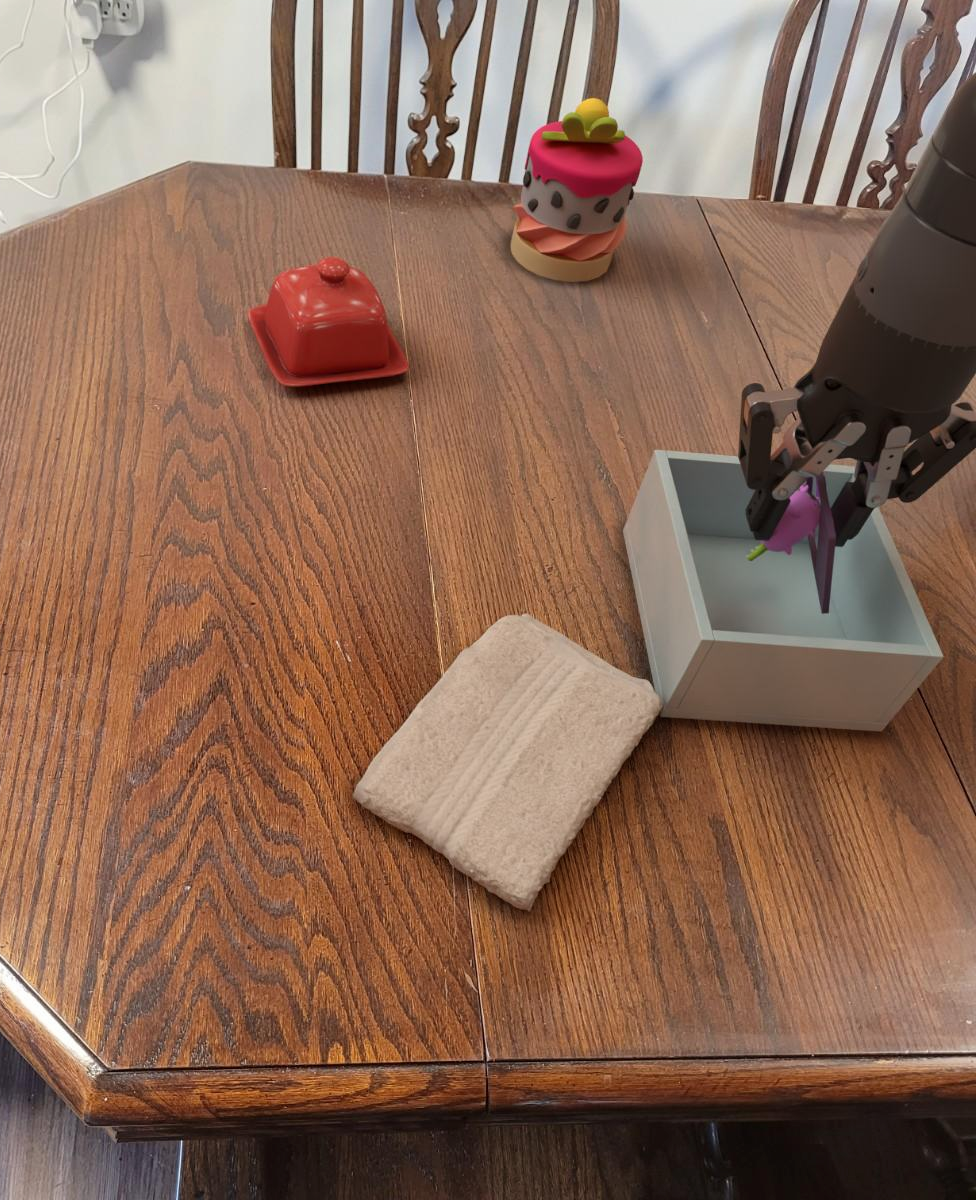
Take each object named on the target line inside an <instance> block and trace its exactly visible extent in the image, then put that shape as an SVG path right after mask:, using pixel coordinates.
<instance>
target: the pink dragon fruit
mask: <svg viewBox="0 0 976 1200" xmlns="http://www.w3.org/2000/svg"><path fill="white" fill-rule="evenodd" d="M812 487H813V477H809V478H808V479H807V480H806V487H804V485H803V484H802V485H801V486H800V491H796V492H795V493H794V494H793V495H792V496H791V497H790V500H791V502H790V504H789V506H788V507H787V509H786V511H785V513H784V515H783V516H782V518H781V520H780V522H779V524H778V525H777V527H776V529H775V531H774V533H773V534H772V536H771V538H770V540H769V541H761V544H760V546H758V547H755V548H756V550H751V551H752V553H751V554H750V555H748V556H747V557H748V560H749V561H753V560H754V559H755V558H757V557H758V556H760V555H761V554H763V553H764V552H765V551H767V550H771V551H774V552H781V551H786V552H787V554H788V555H791V553H792V546H794V545H795V544H796V543H798V542H799V541H800V540H802V539H803V538H804V537H806V536H808V541H809V547H810V552H811V558H812V563H813V569H814V574H815V580H816V585H817V591H818V596H819V602H820V608H821V613H822V614H828V613H829V604H830V594H831V584H832V574H833V564H834V554H835V543H836V534H835V529H834V524H833V519H832V514H831V510H830V505H829V500H828V495H827V485H826V480H825V476H824V471H823V472H822V473H821V474H820V475H819V476H818V477H816V497H815V496H814V495H813V494H812ZM818 491H819V498H818ZM819 501H821V507H820V504H819ZM818 525H819V532H818V544H817V547H816V542H815V532H814V531H815V529H816V527H817V526H818Z"/></svg>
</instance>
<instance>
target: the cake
mask: <svg viewBox="0 0 976 1200" xmlns="http://www.w3.org/2000/svg"><path fill="white" fill-rule="evenodd" d="M643 157H644V156H643V154H642V151H641V149H640V147H639V146H638V145H637V144H636V142H635V141H633V140H632V138H630V137H629V136H627V135H626V134H625V131H624V130H623V129H619V125H618V122H617V120H616V119H615V118H613V117H610V111H609V107H608V106H607V104H606V103H605V102H604V101H603V100H601V99H598V98H595V97H590V98H586V99H584V100H583V101H581V102H580V104H578V106H577V107H576V109H575V111H574V112H573V111H571V112H568V113H567V114H565V116H564V117H563V118H562V120H560V121H559V120H558V121H554V122H550V123H548V124H545V125H543V126H540V127H539V128H538V129H537V130H535V132H533V134H532V136H531V138H530V142H529V146H528V149H527V155H526V159H525V164H524V170H525V171H524V175H523V178H522V184H523V185H522V187H521V188H522V189H521V193H520V202H519V203H518V204H516V205H514V206H512V207H511V209H512V210H513V211H514V212H515V213H516V215H517V217H518V218H517V219H516V220H515V223H514V226H513V231H512V234H511V235H512V236H511V240H510V252H511V254H512V256H513V257H514V260H515V261H516V262H517V263H518V264H520V265H521V266H522V267H523V268H524V269H526V270H527V271H530V272H532V273H534V274H535V275H537V276H539V277H542V278H545V279H549V280H553V281H558V282H567V283H578V282H588V281H592V280H594V279H598V278H600V277H601V276H603V275H604V274H605V273H607V272H608V269H609V267H610V265H611V261H612V258H613V254H614V251H615V250H616V249H617V248H618V247H619V246H620V245H621V242H622V241H623V239H624V237H625V236H626V233H627V218H626V211H627V208H628V206H629V205H630V202H631V201H632V200H633V198H634V196H635V190H634V187H636V185H637V183H638V181H639V178H640V174H641V171H642V166H643V162H644V158H643Z"/></svg>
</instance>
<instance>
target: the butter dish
mask: <svg viewBox="0 0 976 1200" xmlns="http://www.w3.org/2000/svg"><path fill="white" fill-rule="evenodd" d="M272 282H273V283H272V285H271V287H270V288H271V289H270V291H269V296H268V298H267V299H268V300H267V303H265V304H261V305H257V306H253V307H251V308H250V309H249V310H248V312H247V317H248V321H249V324H250V326H251V328H252V330H253V332H254V336H255V337H256V340H257V342H258V345H259V347H260V350H261V352H262V354H263V356H264V358H265V361H266V363H267V366H268V368H269V370H270V372H271V374H272V375H273V377H274V379H275V380H276V381H277V383H278V384H280V385H281V386H283V387H289V388H290V387H291V388H293V387H294V388H297V387H298V388H299V387H310V386H315V385H317V386H318V385H323V384H324V385H325V384H332V383H342V382H343V383H344V382H350V381H359V380H360V381H361V380H362V381H363V380H369V379H370V380H371V379H379V378H389V377H394V376H399V375H402V374H405V373H407V372H409V370H410V364H409V361H408V359H407V357H406V355H405V353H404V351H403V349H402V347H401V345H400V344H399V342H398V340H397V338H396V337H395V335H394V333H393V331H392V330H391V328H390V326H389V325H388V321H387V320H388V319H387V313H386V310H385V306H384V304H383V300H382V298H381V296H380V294H379V293H378V291H377V289H376V287H375V285H374V284H373V282H372V281H371V279H369V277H368V275H366V274H365V273H364V272H363V271H361V270H360V269H359V268H357V267H354V266H351V265H350V266H349V264H348V262H346V261H345V259H342V258H341V257H337V256H327V257H324V258H322V259H320V260H319V261H318V262H317V264H313V265H312V264H311V265H304V266H299V267H296V268H295V267H294V268H290V269H288V270H285V271H282V272H281V273H280V274H278V275H277V276H276V277H275V279H274V280H273V281H272Z"/></svg>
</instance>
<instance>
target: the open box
mask: <svg viewBox="0 0 976 1200" xmlns="http://www.w3.org/2000/svg"><path fill="white" fill-rule="evenodd" d="M855 467H856V465H855V466H854V465H845V464H832V463H830V465H829V466H828V467H827V468H826V469H825V470H824V476H825V480H826V485H827V495H828V500H829V505H830V508H831V507H832V505H833V503H834V502H835V500H836V498H837V497H838V495H839V493H840V492H841V490H842V488H843V486H844V485H845V483H846V482H854V481H855V478H854V472H855ZM803 485H804V487H806V481H805V482H804V483H803ZM796 491H800V487H799V488H798V489H797V490H796ZM754 492H755V490H753V489H750V488H748V486H747V483H746V480H745V477H744V474H743V471H742V468H741V465H740V462H739V458H738V455H728V454H714V453H703V452H691V451H680V450H679V451H678V450H664V449H654V451H653V454H652V456H651V458H650V460H649V463H648V466H647V469H646V472H645V474H644V476H643V479H642V481H641V484H640V487H639V489H638V491H637V494H636V497H635V500H634V501H633V505H632V507H631V509H630V511H629V515H628V517H627V519H626V522H625V524H624V527H623V529H622V534H623V538H624V543H625V548H626V552H627V559H628V563H629V568H630V574H631V578H632V583H633V588H634V593H635V598H636V602H637V607H638V613H639V618H640V623H641V629H642V632H643V638H644V642H645V647H646V648H645V649H646V652H647V658H648V663H649V667H650V672H651V673H650V674H651V677H652V682H653V689H654V691H655V693H656V694H657V695H659V696H660V698H661V699H662V701H663V704H662V708H661V710H660V711H659V716H660V717H661V718H672V719H673V718H674V719H687V720H688V719H689V720H701V721H702V720H704V721H718V722H719V721H720V722H731V723H732V722H735V723H748V724H763V725H776V726H777V725H778V726H792V727H809V728H823V729H824V728H825V729H826V728H827V729H838V730H839V729H840V730H852V731H853V730H854V731H868V732H883V730H884V729H885V728H886V727H887V726H888V724H889V723H890V722H891V721H892V720H893V718H894V717H895V716H896V715H897V714H898V713H899V712H900V711H901V709H902V707H904V705H905V704H906V703H907V702H908V700H909V699H910V698H911V697H912V696H913V694H914V693H915V692H916V691H917V690H918V688H919V687H920V686H921V685H922V684H923V682H924V681H925V680H926V679H927V678H928V677H929V675H931V673H932V672H933V670H934V669H935V668H936V667H937V665H938V664H940V662H941V661H942V659H943V658H944V654H943V652H942V650H941V647H940V645H939V643H938V641H937V638H936V636H935V633H934V631H933V628H932V626H931V624H930V622H929V620H928V617H927V615H926V613H925V611H924V608H923V606H922V603H921V601H920V599H919V597H918V594H917V592H916V589H915V587H914V585H913V583H912V580H911V578H910V576H909V574H908V570H907V569H906V566H905V564H904V562H903V560H902V558H901V555H900V553H899V551H898V549H897V546H896V544H895V541H894V539H893V537H892V534H891V533H890V530H889V528H888V525H887V523H886V520H885V518H884V516H883V514H882V512H881V509H880V506H879V507H876V508H874V510H873V511H872V513H871V514H870V516H869V518H868V519H867V521H866V522H865V524H864V525H863V527H862V529H861V530H860V532H859V533H858V535H856V536H855V537H854V538H853V539H851V540H847V542H846V543H845V545H844V546H843V547H835V554H834V564H833V574H832V584H831V594H830V604H829V613H828V614H822V613H821V608H820V602H819V596H818V591H817V585H816V580H815V574H814V569H813V563H812V558H811V552H810V547H809V541H808V536H806V537H804V538H803V539H802V540H800V541H799V542H798V543H796V544H795V545H794V546H792V553H791V555H788V554H787V552H786V551H781V552H774V551H771V550H767V551H765V552H764V553H763V554H761V555H760V556H758V557H757V558H755V559H754V560H753V561H749V560H748V557H747V556H748V555H750V554H751V553H752V551H751V550H756V548H755V547H758V546H760V544H761V541H760V540H755V538H754V534H753V532H751V531H750V528H749V525H748V521H747V518H746V508H747V506H748V504H749V502H750V500H751V499H752V496H753V494H754ZM812 494H813V495H814V496H815V497H816V477H815V478H813V487H812ZM818 498H819V491H818ZM819 504H820V507H821V501H819ZM814 532H815V542H816V547H817V544H818V532H819V525H818V526H817V527H816V529H815V531H814Z"/></svg>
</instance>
